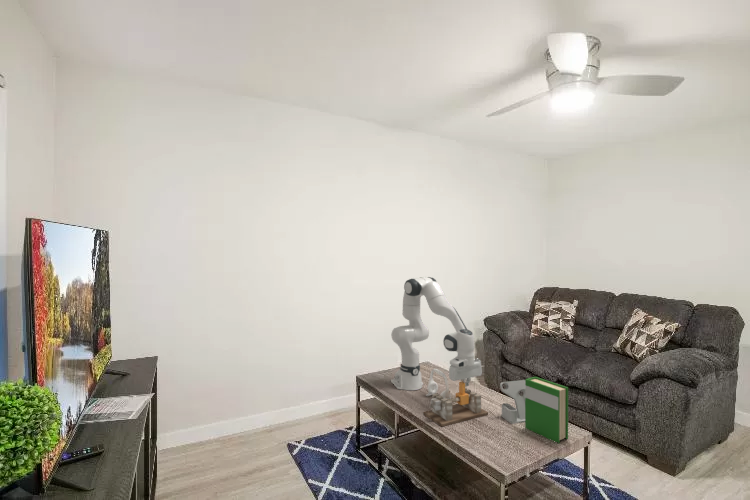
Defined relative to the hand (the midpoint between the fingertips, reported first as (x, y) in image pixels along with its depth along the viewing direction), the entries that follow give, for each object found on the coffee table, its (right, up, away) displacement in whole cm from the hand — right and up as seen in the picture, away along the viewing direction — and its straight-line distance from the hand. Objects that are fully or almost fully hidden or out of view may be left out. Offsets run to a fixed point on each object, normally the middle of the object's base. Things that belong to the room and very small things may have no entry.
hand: (465, 386), depth 209 cm
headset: (-12, -14, +15) cm, 24 cm away
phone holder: (+26, -14, -7) cm, 31 cm away
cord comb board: (-6, -14, -3) cm, 16 cm away
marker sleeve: (-2, -8, -1) cm, 9 cm away
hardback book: (+33, -15, -24) cm, 43 cm away
